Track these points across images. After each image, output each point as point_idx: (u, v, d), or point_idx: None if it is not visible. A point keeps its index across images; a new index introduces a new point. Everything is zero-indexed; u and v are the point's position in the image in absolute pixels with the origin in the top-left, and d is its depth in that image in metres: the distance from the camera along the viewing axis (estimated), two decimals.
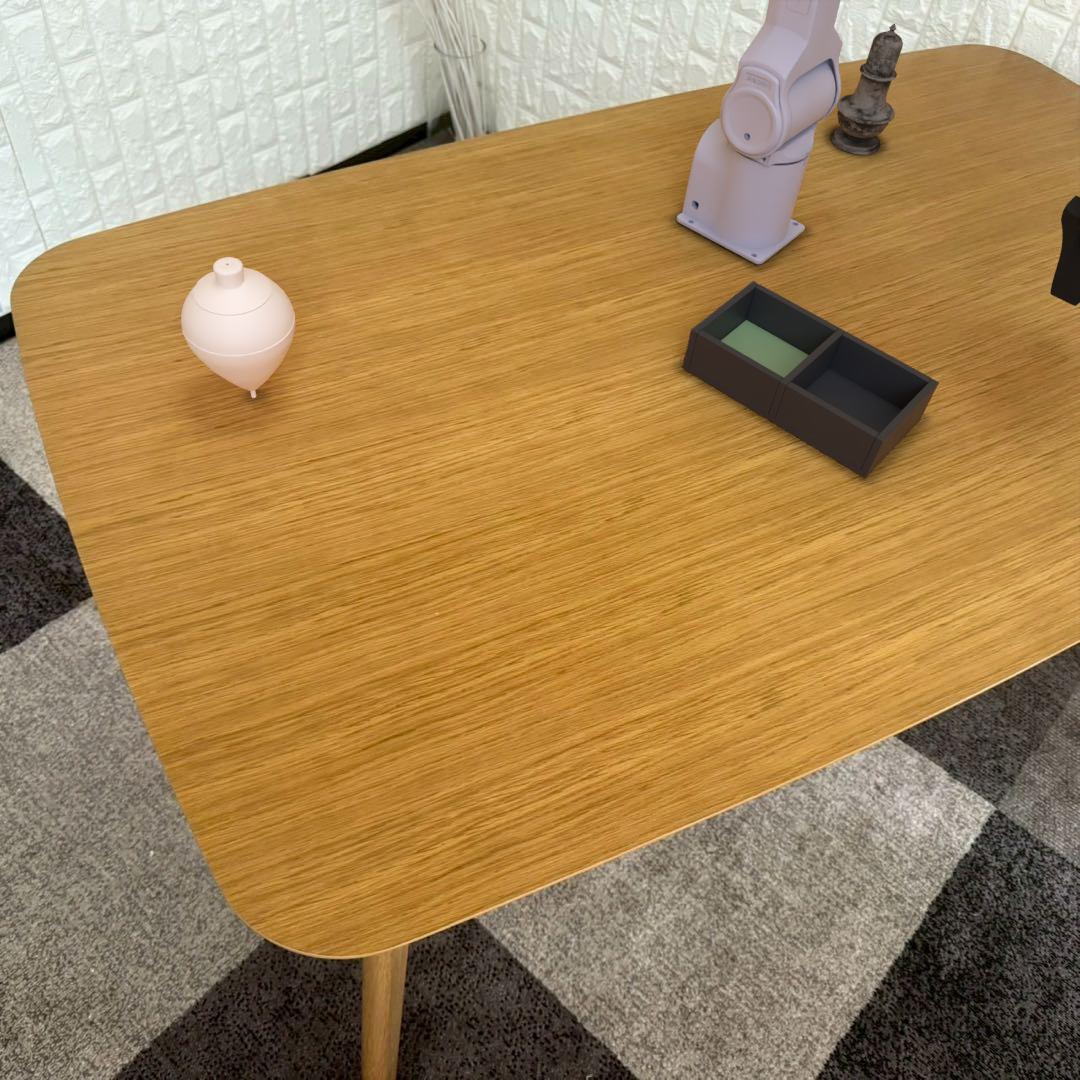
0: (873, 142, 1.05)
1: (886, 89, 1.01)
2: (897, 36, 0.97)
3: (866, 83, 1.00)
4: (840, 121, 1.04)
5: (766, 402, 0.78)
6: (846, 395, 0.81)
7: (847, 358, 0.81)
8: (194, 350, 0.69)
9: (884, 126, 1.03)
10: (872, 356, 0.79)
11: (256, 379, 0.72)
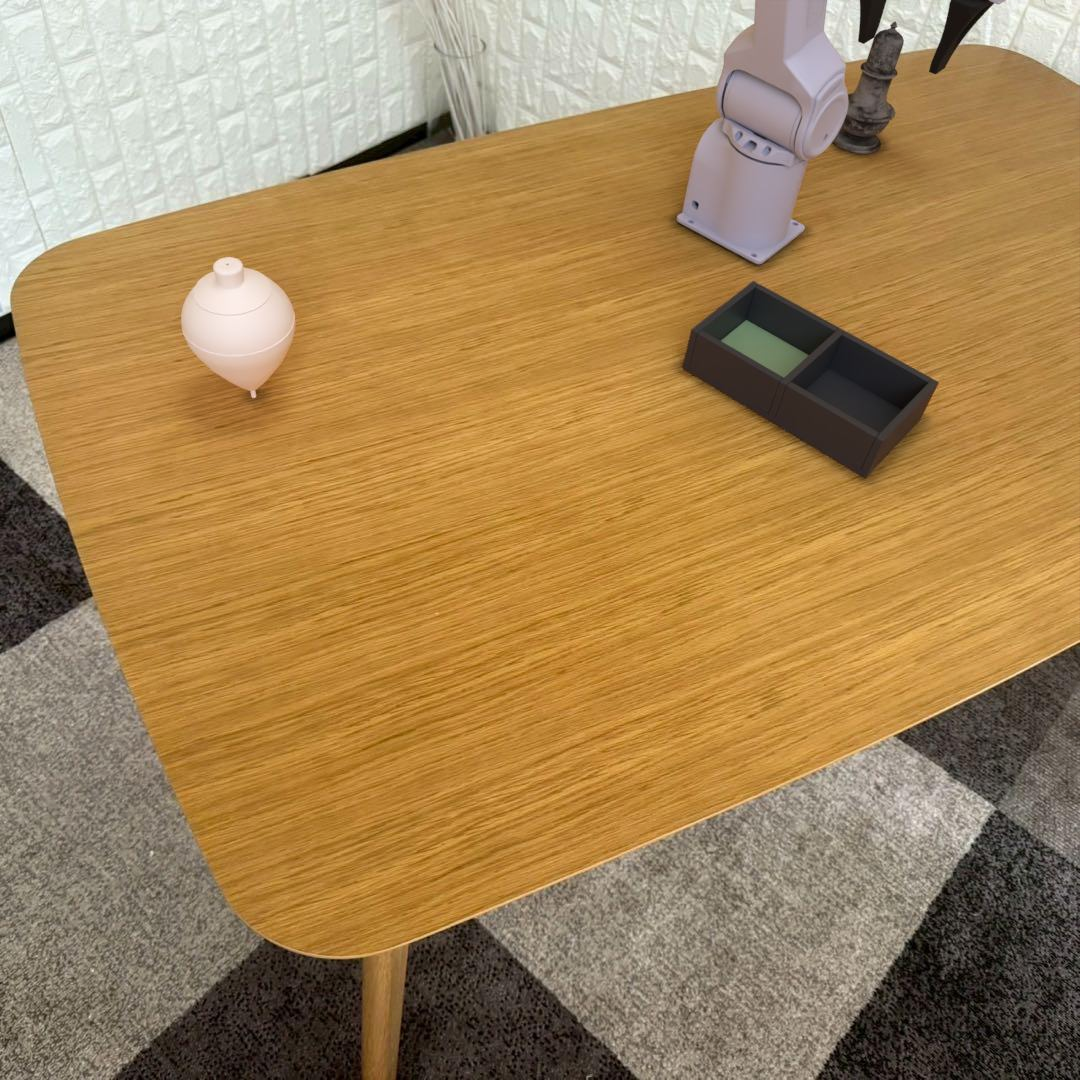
0: (873, 141, 1.05)
1: (887, 87, 1.01)
2: (898, 34, 0.98)
3: (867, 81, 1.00)
4: None
5: (766, 402, 0.78)
6: (846, 395, 0.81)
7: (847, 358, 0.81)
8: (194, 350, 0.69)
9: (885, 125, 1.03)
10: (872, 356, 0.79)
11: (256, 379, 0.72)
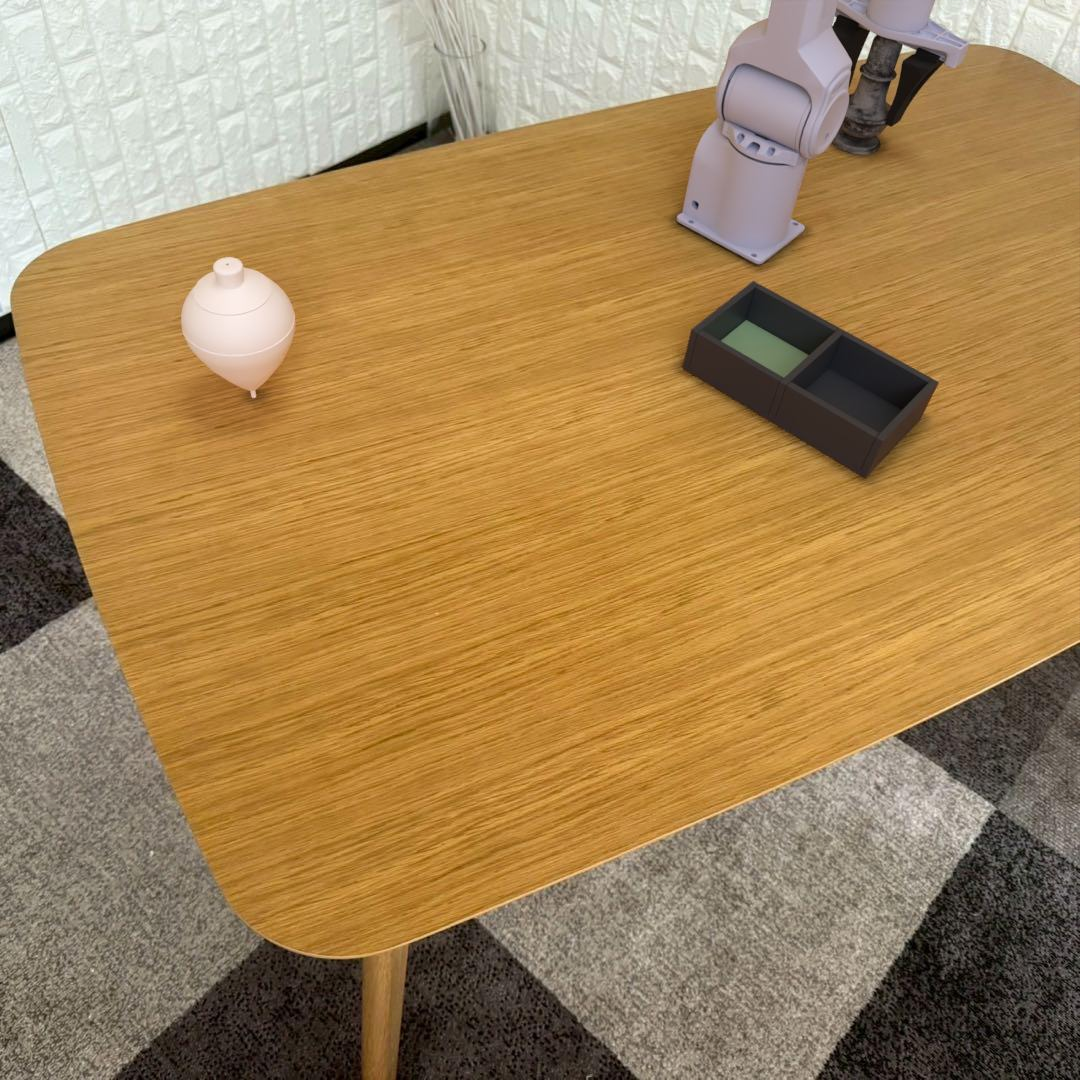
0: (872, 142, 1.05)
1: (886, 89, 1.01)
2: None
3: (866, 83, 1.00)
4: None
5: (766, 402, 0.78)
6: (846, 395, 0.81)
7: (847, 358, 0.81)
8: (194, 350, 0.69)
9: (884, 126, 1.03)
10: (872, 356, 0.79)
11: (256, 379, 0.72)
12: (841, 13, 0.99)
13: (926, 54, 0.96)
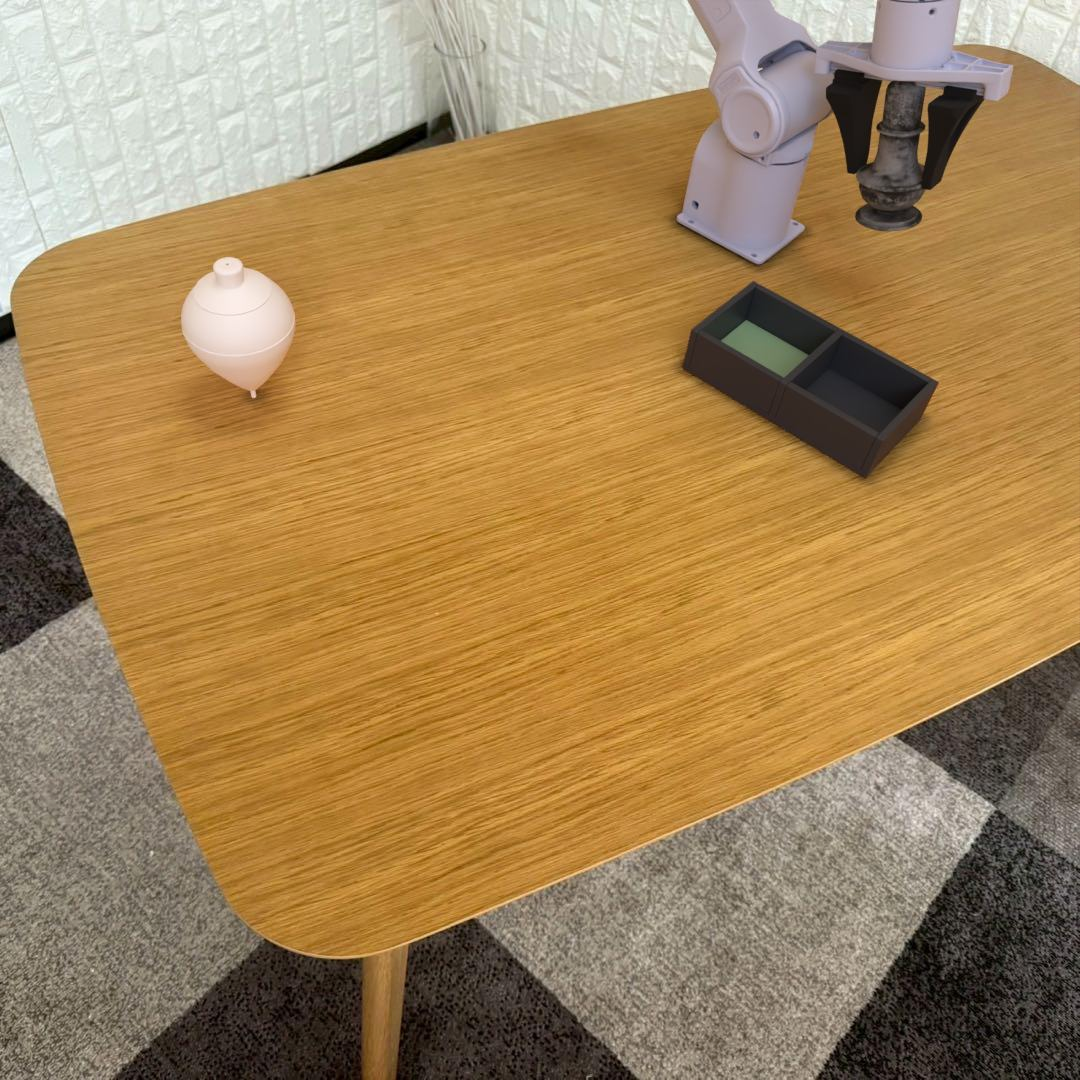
0: (911, 214, 0.83)
1: (915, 145, 0.79)
2: None
3: (887, 143, 0.79)
4: (864, 195, 0.82)
5: (766, 402, 0.78)
6: (846, 395, 0.81)
7: (847, 358, 0.81)
8: (194, 350, 0.69)
9: (921, 191, 0.81)
10: (872, 356, 0.79)
11: (256, 379, 0.72)
12: (840, 67, 0.79)
13: (958, 91, 0.74)
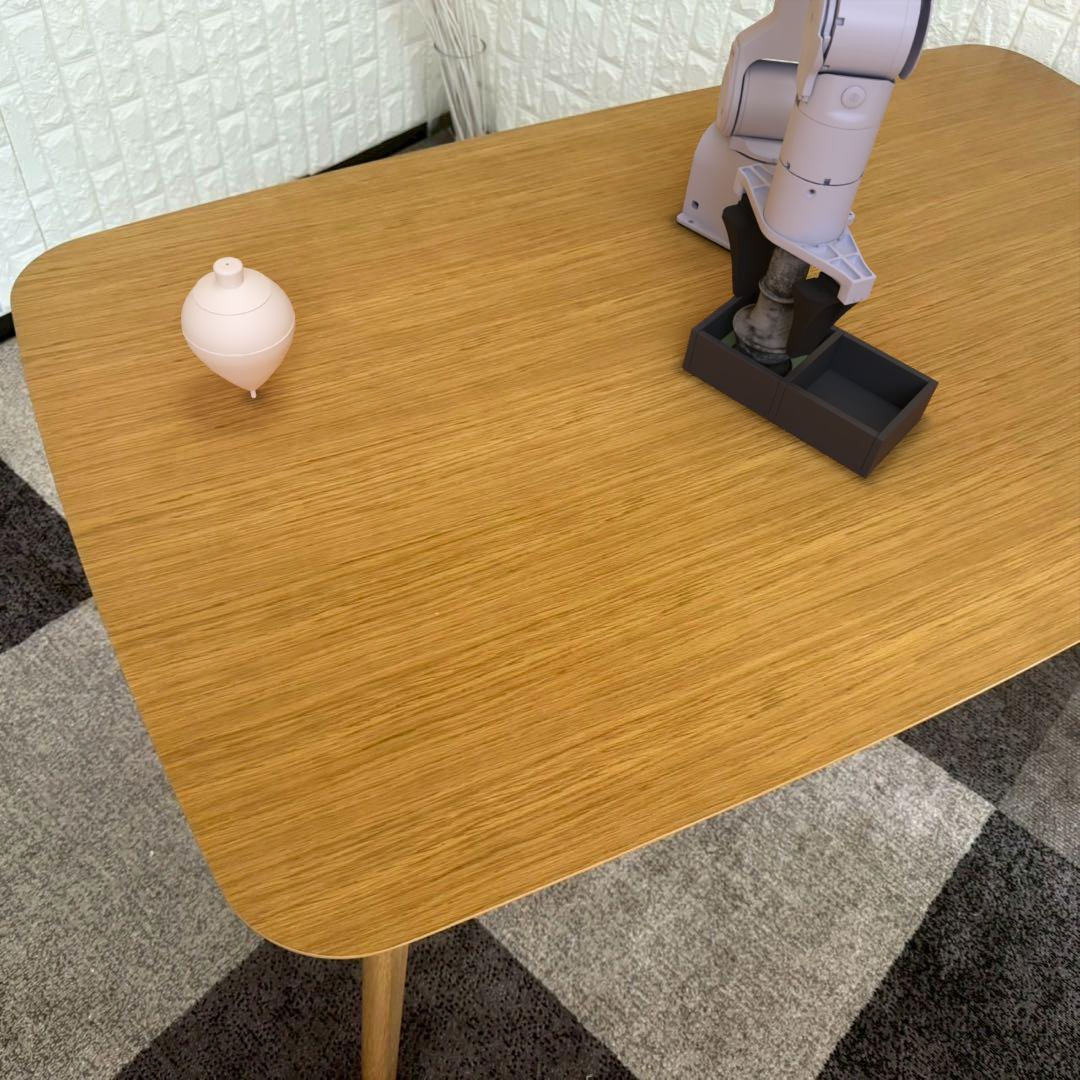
0: (776, 370, 0.81)
1: (787, 312, 0.76)
2: None
3: (762, 298, 0.77)
4: None
5: (766, 402, 0.78)
6: (846, 395, 0.81)
7: (847, 358, 0.81)
8: (194, 350, 0.69)
9: (783, 356, 0.78)
10: (872, 356, 0.79)
11: (256, 378, 0.72)
12: None
13: (828, 282, 0.70)
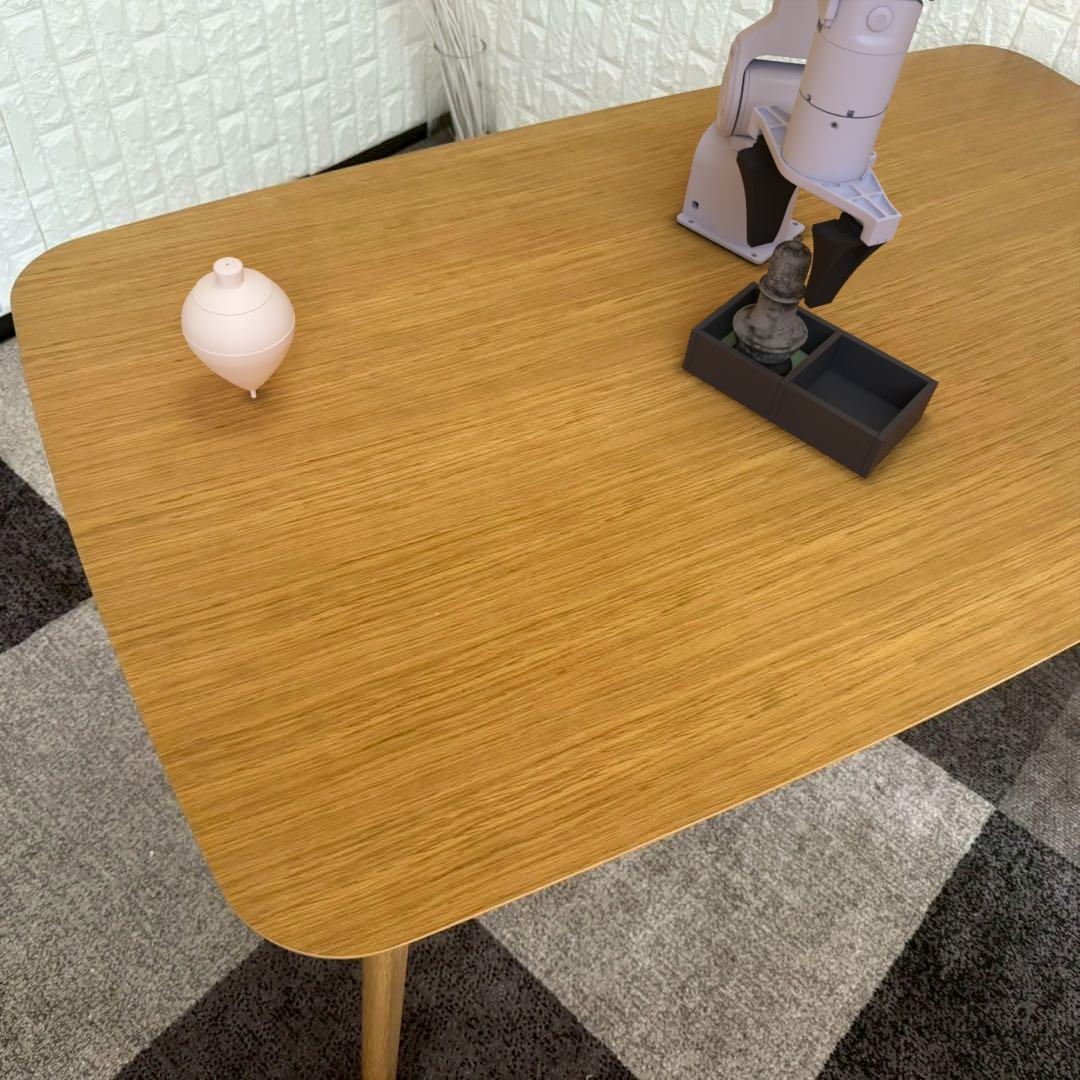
0: (776, 370, 0.81)
1: (787, 312, 0.76)
2: (803, 250, 0.73)
3: (762, 298, 0.77)
4: None
5: (766, 402, 0.78)
6: (846, 395, 0.81)
7: (847, 358, 0.81)
8: (194, 350, 0.69)
9: (783, 356, 0.78)
10: (872, 356, 0.79)
11: (256, 379, 0.72)
12: None
13: (850, 223, 0.67)
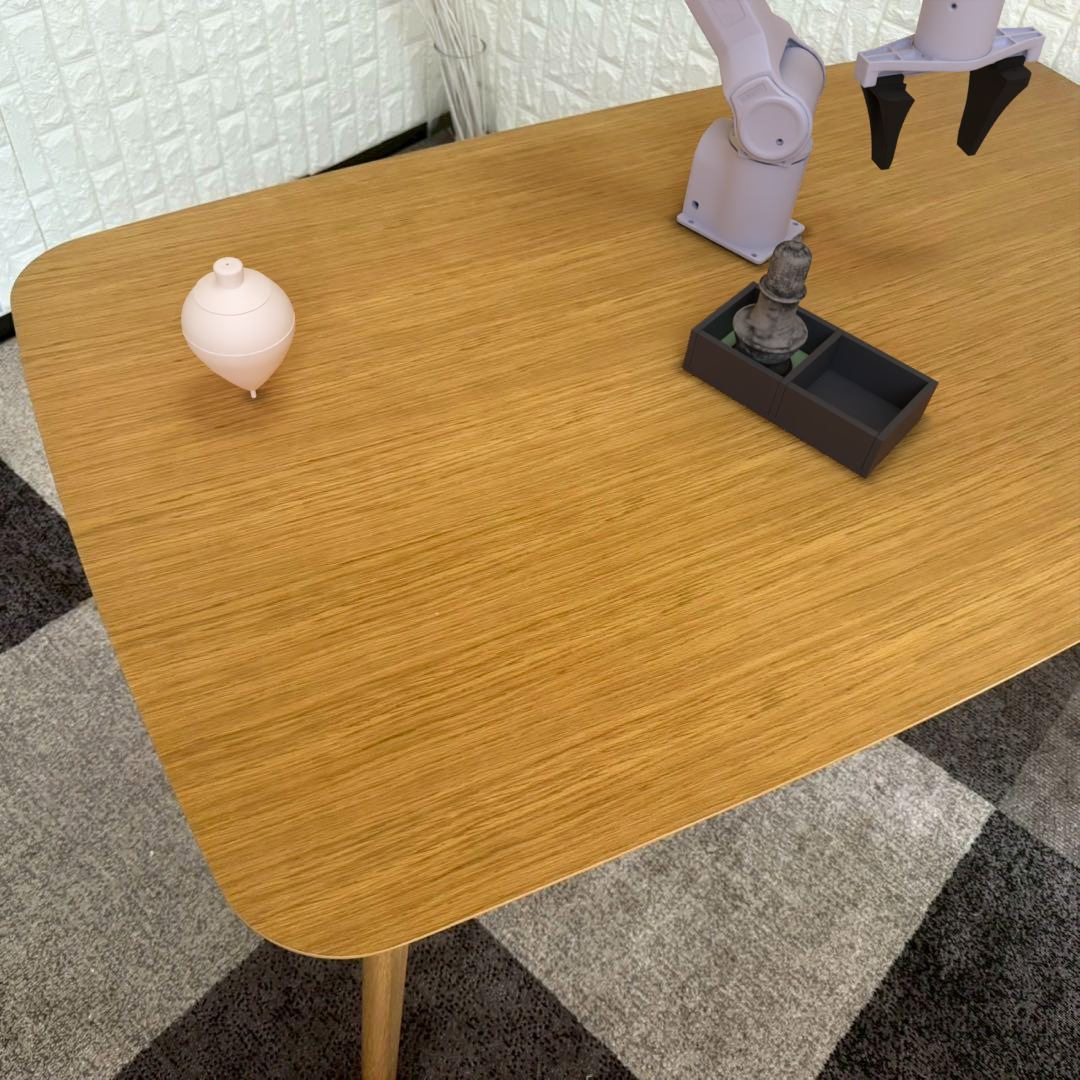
0: (776, 370, 0.81)
1: (787, 312, 0.76)
2: (803, 250, 0.73)
3: (762, 298, 0.77)
4: None
5: (766, 402, 0.78)
6: (846, 395, 0.81)
7: (847, 358, 0.81)
8: (194, 350, 0.69)
9: (783, 356, 0.78)
10: (872, 356, 0.79)
11: (256, 379, 0.72)
12: (883, 74, 0.78)
13: (1011, 61, 0.79)
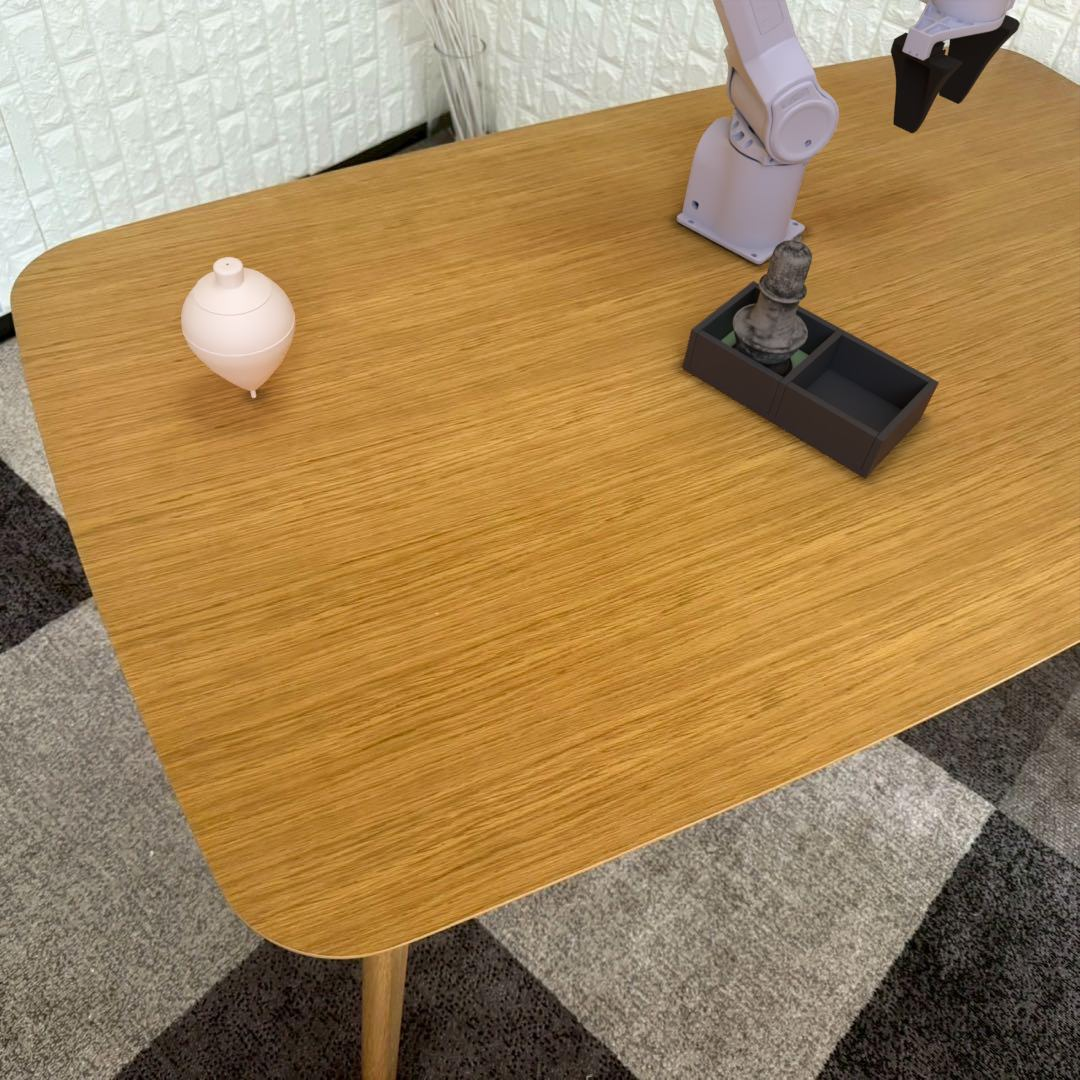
0: (776, 370, 0.81)
1: (787, 312, 0.76)
2: (803, 250, 0.73)
3: (762, 298, 0.77)
4: None
5: (766, 402, 0.78)
6: (846, 395, 0.81)
7: (847, 358, 0.81)
8: (194, 350, 0.69)
9: (783, 356, 0.78)
10: (872, 356, 0.79)
11: (256, 378, 0.72)
12: None
13: None
